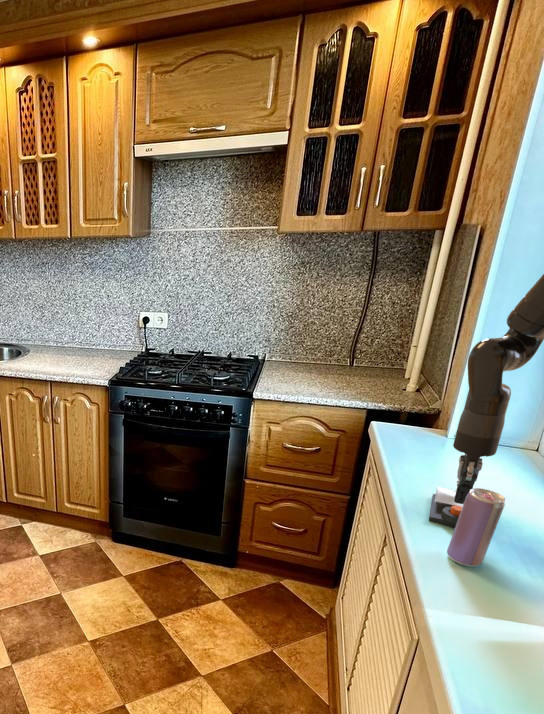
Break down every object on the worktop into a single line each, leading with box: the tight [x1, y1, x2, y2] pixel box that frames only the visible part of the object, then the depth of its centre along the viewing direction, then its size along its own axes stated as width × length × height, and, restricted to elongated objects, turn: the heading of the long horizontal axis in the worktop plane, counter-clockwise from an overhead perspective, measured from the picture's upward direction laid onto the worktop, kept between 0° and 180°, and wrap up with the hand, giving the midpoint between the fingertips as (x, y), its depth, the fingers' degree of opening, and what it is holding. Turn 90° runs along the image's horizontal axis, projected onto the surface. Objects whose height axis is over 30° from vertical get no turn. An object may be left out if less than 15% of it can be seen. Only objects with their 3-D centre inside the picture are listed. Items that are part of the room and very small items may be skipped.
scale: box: [428, 493, 459, 529], centre depth 123 cm, size 15×10×3 cm
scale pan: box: [435, 486, 463, 507], centre depth 125 cm, size 9×9×1 cm
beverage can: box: [446, 487, 506, 568], centre depth 105 cm, size 6×6×15 cm
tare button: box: [450, 505, 462, 516], centre depth 119 cm, size 3×3×2 cm
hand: (459, 502), depth 119 cm, fingers closed
